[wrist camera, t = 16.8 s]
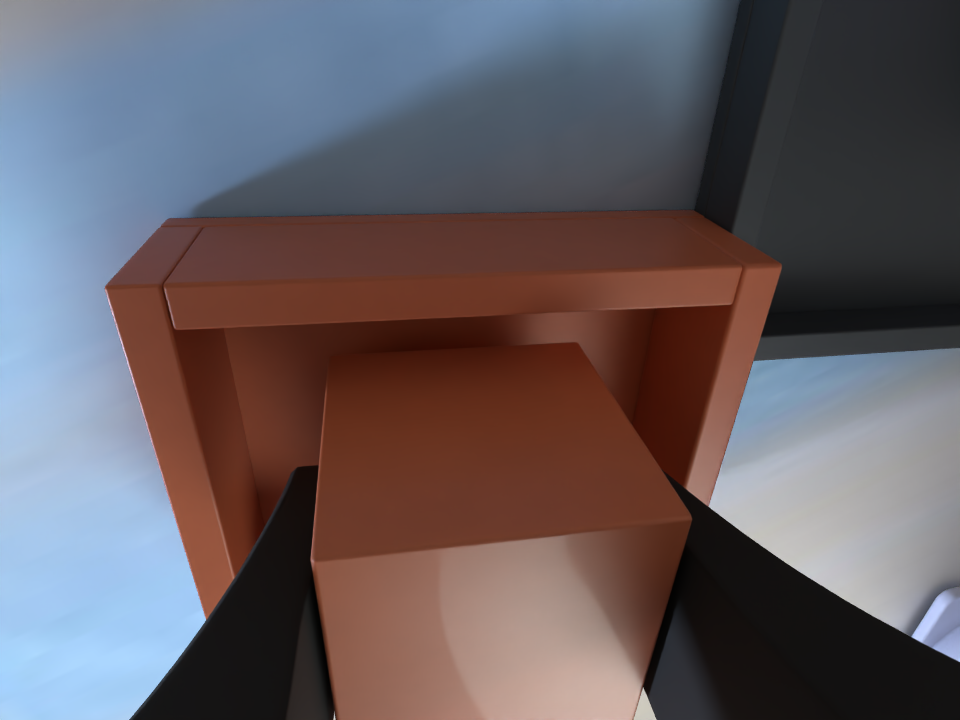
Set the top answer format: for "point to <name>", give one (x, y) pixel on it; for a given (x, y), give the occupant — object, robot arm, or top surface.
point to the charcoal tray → (844, 170)
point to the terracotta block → (488, 538)
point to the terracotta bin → (418, 336)
